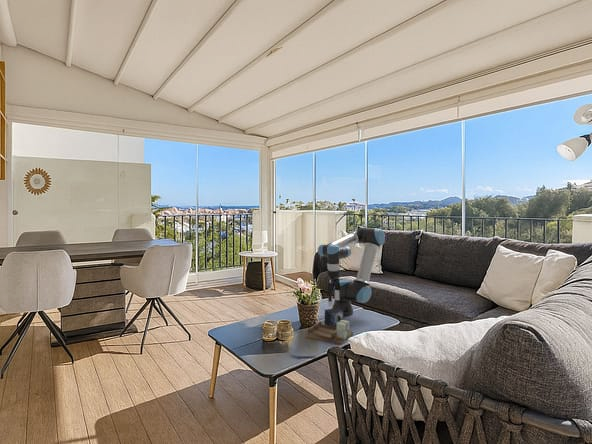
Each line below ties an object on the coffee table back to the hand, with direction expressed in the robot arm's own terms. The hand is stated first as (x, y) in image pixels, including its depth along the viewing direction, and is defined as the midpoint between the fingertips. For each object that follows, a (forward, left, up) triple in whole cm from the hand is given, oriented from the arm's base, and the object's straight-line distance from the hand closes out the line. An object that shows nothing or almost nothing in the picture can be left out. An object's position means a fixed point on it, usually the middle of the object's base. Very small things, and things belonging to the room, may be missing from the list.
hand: (333, 303), depth 226 cm
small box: (-2, -1, -16) cm, 16 cm away
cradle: (+14, +4, -16) cm, 21 cm away
